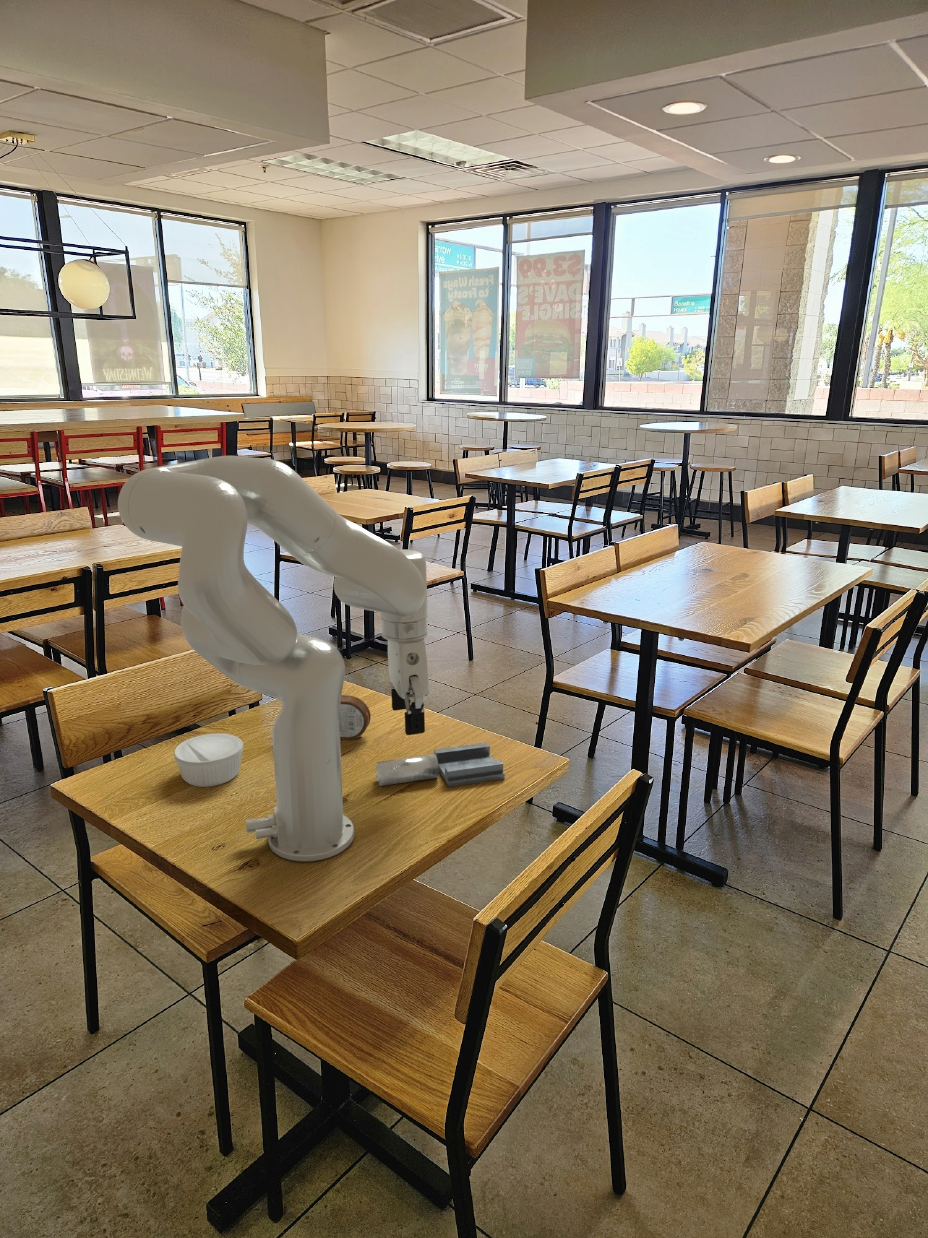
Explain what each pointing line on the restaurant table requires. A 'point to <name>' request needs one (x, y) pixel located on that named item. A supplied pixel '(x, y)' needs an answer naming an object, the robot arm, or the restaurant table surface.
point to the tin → (353, 717)
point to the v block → (468, 764)
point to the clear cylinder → (407, 770)
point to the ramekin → (209, 759)
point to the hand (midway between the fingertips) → (408, 720)
